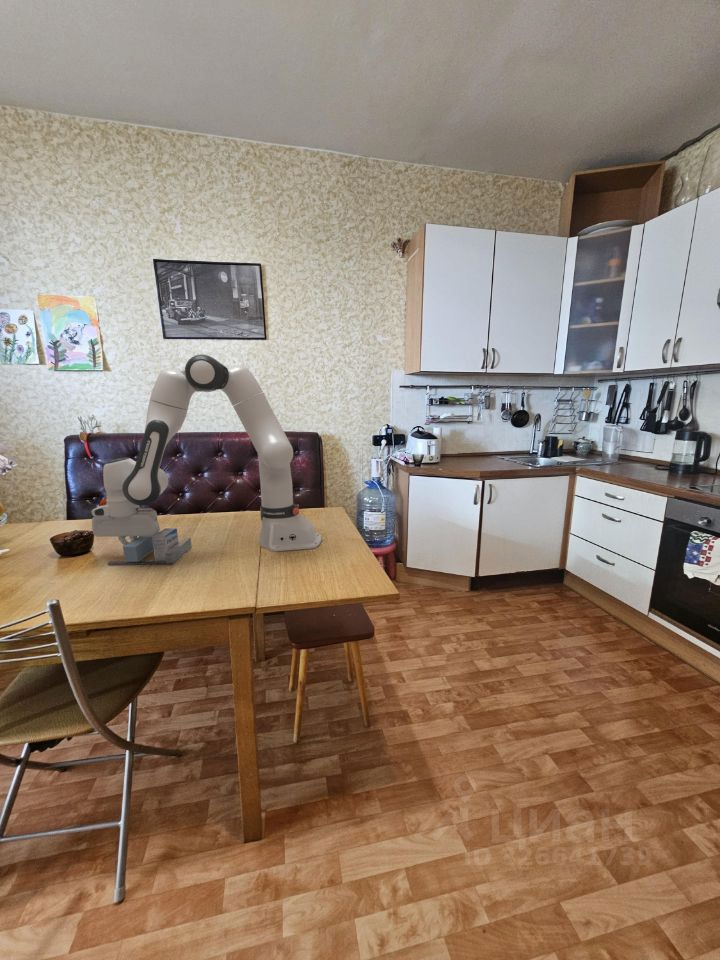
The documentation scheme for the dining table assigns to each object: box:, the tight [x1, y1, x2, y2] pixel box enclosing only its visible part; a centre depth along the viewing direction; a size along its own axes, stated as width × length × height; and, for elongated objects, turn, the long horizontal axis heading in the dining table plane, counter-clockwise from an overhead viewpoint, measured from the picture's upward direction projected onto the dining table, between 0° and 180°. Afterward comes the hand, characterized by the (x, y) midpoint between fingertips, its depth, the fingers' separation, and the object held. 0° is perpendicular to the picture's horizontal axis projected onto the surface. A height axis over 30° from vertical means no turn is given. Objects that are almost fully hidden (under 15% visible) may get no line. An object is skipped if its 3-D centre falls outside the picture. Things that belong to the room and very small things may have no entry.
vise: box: [107, 537, 192, 566], centre depth 128 cm, size 20×14×4 cm
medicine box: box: [152, 527, 180, 561], centre depth 128 cm, size 8×4×9 cm, turn 179°
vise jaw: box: [122, 531, 160, 562], centre depth 128 cm, size 4×14×5 cm, turn 0°
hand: (129, 548), depth 128 cm, fingers closed
